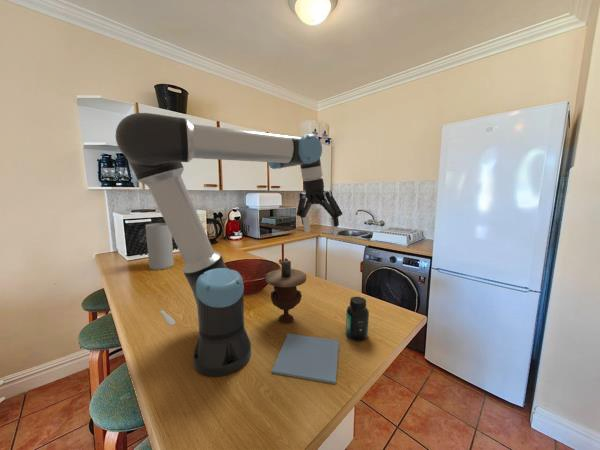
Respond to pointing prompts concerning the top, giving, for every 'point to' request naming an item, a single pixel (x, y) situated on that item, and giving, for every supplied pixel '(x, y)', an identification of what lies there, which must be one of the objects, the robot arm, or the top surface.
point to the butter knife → (168, 318)
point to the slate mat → (308, 358)
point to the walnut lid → (286, 276)
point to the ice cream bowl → (285, 301)
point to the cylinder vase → (159, 246)
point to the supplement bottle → (357, 319)
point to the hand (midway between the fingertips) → (321, 233)
